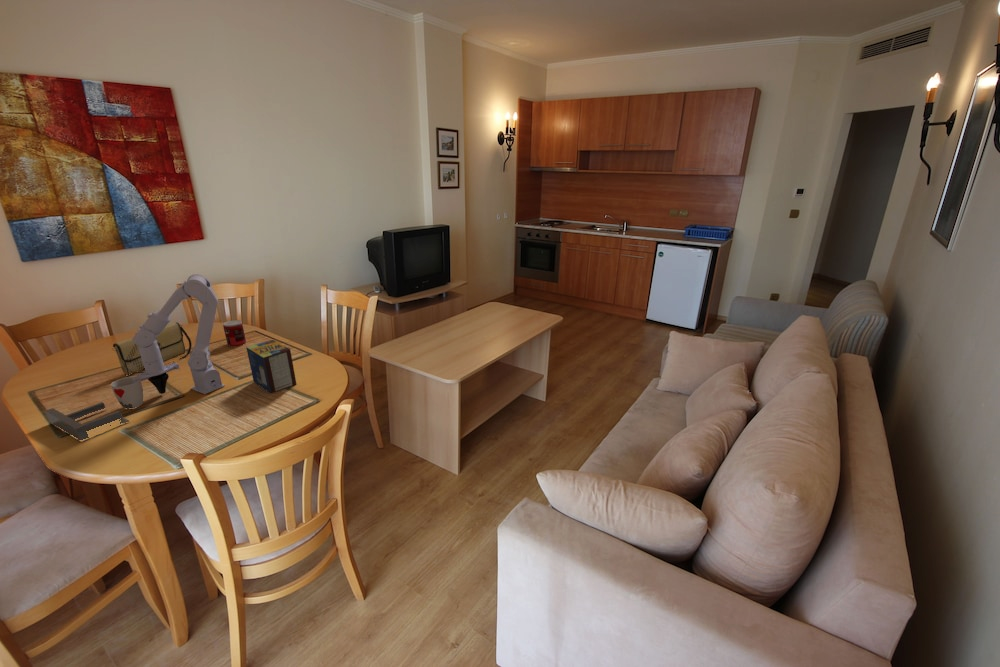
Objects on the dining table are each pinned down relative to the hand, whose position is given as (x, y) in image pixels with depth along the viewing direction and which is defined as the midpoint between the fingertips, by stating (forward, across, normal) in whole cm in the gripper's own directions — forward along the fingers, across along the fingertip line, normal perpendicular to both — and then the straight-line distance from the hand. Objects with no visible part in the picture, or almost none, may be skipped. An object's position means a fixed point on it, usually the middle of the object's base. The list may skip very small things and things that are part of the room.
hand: (162, 392), depth 163 cm
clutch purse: (+1, -14, -30) cm, 33 cm away
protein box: (+1, -26, +28) cm, 39 cm away
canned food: (+1, -44, -24) cm, 51 cm away
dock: (+1, +21, 0) cm, 21 cm away
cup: (+1, +10, 0) cm, 10 cm away
